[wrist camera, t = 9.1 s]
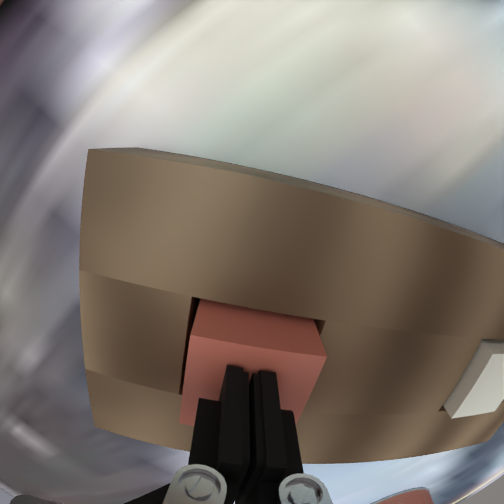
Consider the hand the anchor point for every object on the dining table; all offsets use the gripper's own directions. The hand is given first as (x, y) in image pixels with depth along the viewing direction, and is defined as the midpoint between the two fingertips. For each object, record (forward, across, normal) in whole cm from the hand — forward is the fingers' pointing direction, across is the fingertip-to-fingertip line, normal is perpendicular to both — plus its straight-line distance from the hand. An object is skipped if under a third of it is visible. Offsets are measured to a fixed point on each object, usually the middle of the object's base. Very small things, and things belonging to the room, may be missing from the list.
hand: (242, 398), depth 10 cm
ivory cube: (+5, -14, 0) cm, 15 cm away
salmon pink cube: (+4, 0, 0) cm, 4 cm away
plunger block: (+7, -7, 0) cm, 10 cm away
